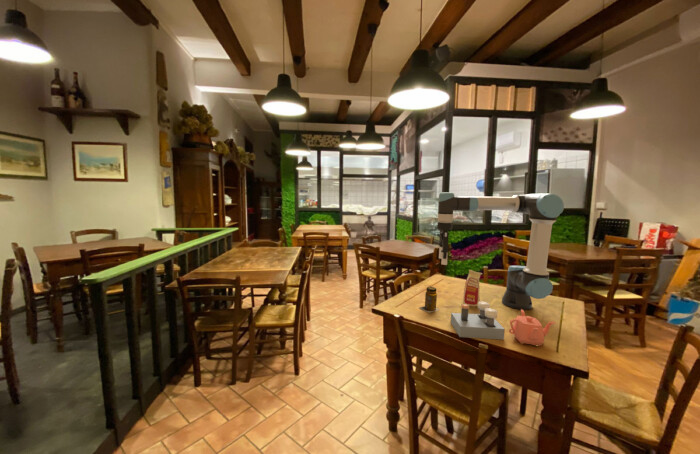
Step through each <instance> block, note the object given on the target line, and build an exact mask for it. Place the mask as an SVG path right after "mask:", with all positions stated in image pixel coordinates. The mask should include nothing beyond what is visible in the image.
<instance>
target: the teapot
mask: <svg viewBox="0 0 700 454" xmlns="http://www.w3.org/2000/svg"><path fill="white" fill-rule="evenodd" d="M556 323H557V322H555V321H548V322H547V323H546V325H545V327H543V325H542V323H541V322H540V320H538V319H537V318H536V317H533V316H530V315H527V316H526V312H525V310H522V309H520V315H517V316H516V318H513V319H511V320H510V321H509V326H510V329H509V330H508V331H509V334H512V335H513V336H514V338H515V339H516V340H517V341H518V343H519V342H520V343H519V344H521V343H525V344H526V345H527V344H528V345H533V346H534V345H539V346H543V344H544V342H545V337H546V336H547V335H548V334H549V333H550V329H551V326H552V325H554V324H556Z"/></svg>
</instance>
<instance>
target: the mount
mask: <svg viewBox="0 0 700 454" xmlns="http://www.w3.org/2000/svg"><path fill="white" fill-rule="evenodd" d="M479 316H480V313H468V321H462V320H461V312H450V323H451V325H452V328H453V329H454V330H455V332H456V334H457V335H458V337H459V338H470V339H484V338H485V339H488V340H502V341H503V340H505V330H506V329H505V328H504V327H503V326H502V325H501V324H500V323H499V321H497V320H496V318H494V327H487V326H486V322H487V317H486V319H480V318H479ZM485 339H484V340H485Z"/></svg>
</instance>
